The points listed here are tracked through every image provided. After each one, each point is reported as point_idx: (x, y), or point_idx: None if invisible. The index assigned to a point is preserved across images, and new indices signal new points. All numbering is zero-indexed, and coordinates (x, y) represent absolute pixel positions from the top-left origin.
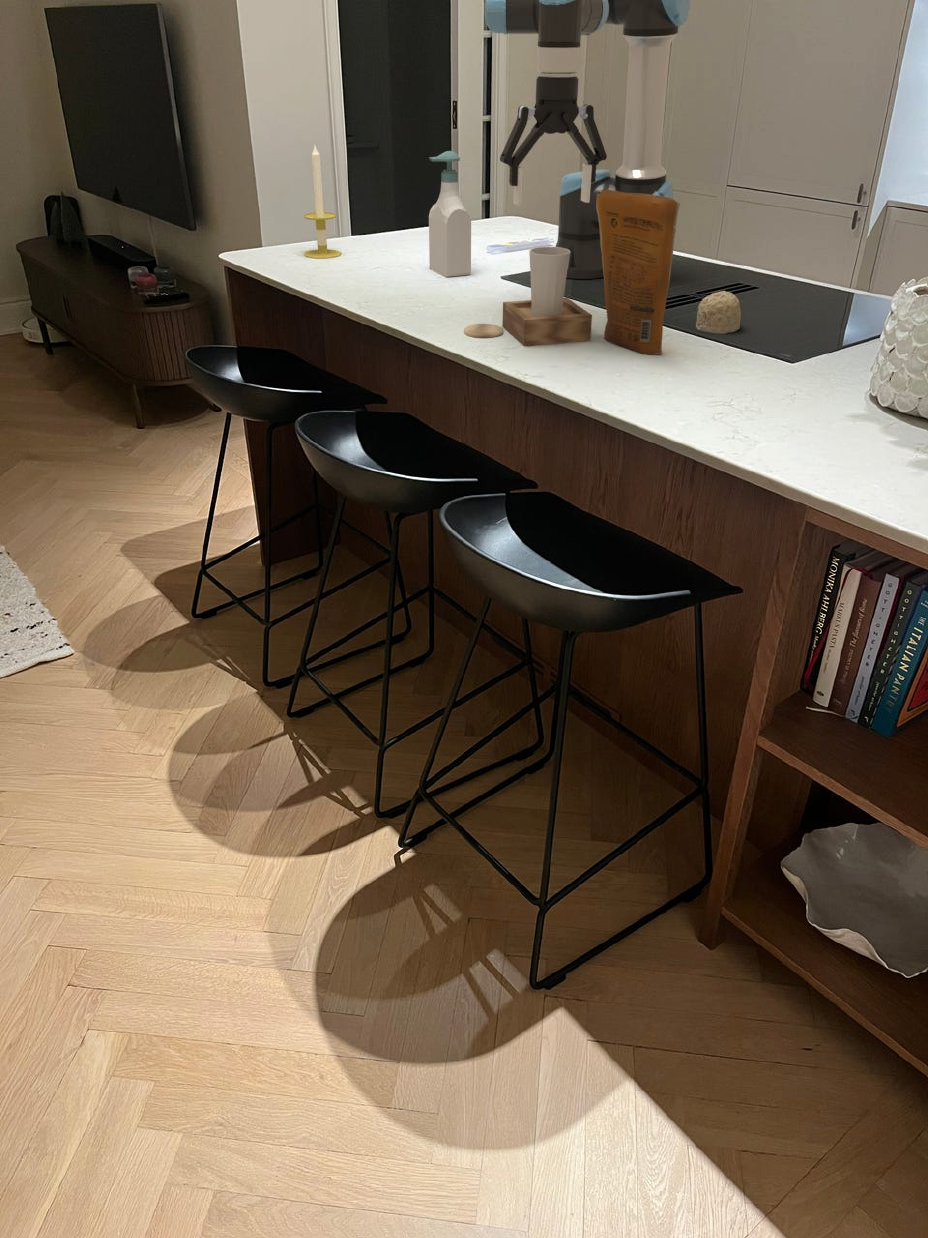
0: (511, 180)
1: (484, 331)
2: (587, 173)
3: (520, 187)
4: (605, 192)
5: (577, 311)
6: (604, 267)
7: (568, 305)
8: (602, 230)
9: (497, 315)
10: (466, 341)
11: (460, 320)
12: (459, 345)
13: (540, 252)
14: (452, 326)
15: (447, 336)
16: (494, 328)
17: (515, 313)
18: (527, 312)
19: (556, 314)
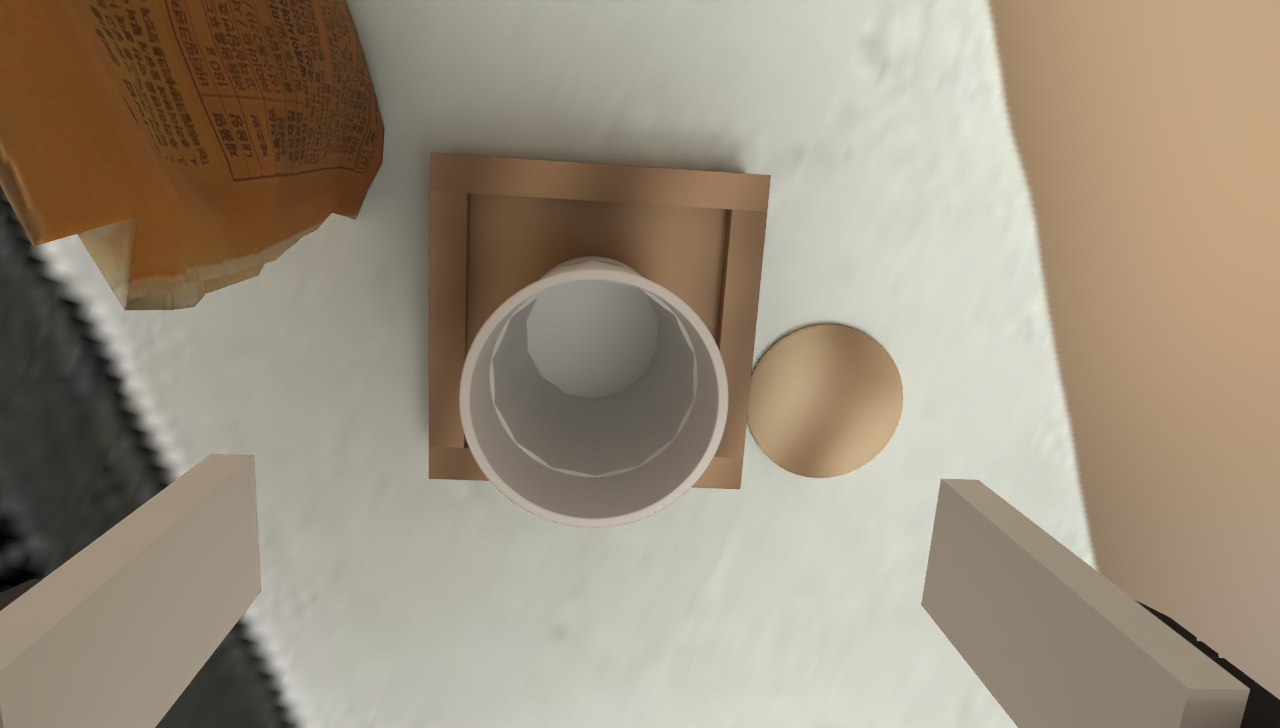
0: (1191, 635)
1: (834, 373)
2: (85, 602)
3: (1051, 551)
4: (36, 136)
5: (467, 254)
6: (279, 230)
7: None
8: (217, 237)
9: (680, 597)
10: (931, 305)
11: (841, 572)
12: (977, 263)
13: (609, 501)
14: (901, 507)
15: (971, 389)
16: (781, 400)
17: (756, 309)
18: None
19: (573, 259)
